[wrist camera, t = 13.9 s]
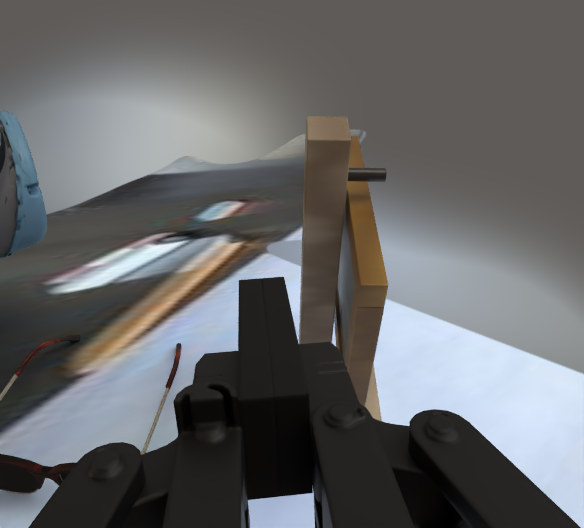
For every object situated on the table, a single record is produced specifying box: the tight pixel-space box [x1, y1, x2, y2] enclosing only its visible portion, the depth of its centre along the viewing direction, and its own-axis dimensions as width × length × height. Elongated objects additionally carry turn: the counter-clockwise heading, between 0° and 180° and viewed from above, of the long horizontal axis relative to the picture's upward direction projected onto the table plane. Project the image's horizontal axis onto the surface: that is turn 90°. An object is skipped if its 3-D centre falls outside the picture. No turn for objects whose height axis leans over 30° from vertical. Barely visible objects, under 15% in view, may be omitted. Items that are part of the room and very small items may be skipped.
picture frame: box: [334, 136, 388, 406], centre depth 35 cm, size 1×16×12 cm, turn 0°
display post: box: [299, 116, 386, 421], centre depth 36 cm, size 8×10×27 cm
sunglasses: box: [0, 335, 181, 494], centre depth 43 cm, size 14×16×5 cm
